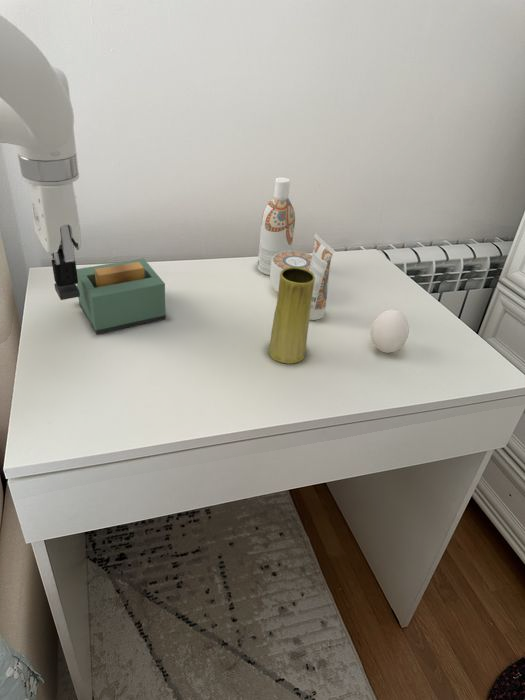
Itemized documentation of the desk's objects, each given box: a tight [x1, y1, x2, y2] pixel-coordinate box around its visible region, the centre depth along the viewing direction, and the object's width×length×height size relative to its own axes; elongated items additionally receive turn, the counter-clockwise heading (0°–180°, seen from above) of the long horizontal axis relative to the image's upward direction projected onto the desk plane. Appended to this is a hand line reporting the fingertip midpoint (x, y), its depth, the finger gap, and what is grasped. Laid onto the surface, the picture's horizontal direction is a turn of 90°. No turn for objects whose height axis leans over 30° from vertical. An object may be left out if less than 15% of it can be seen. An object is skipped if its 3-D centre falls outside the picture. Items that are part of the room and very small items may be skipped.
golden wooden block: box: [94, 262, 145, 288], centre depth 90 cm, size 8×2×8 cm, turn 120°
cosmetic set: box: [257, 176, 334, 321], centre depth 98 cm, size 25×9×19 cm, turn 22°
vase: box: [267, 267, 315, 365], centre depth 83 cm, size 6×6×14 cm
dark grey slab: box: [53, 282, 80, 301], centre depth 85 cm, size 3×4×1 cm
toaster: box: [76, 257, 167, 335], centre depth 91 cm, size 12×10×7 cm
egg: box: [370, 308, 410, 353], centre depth 88 cm, size 6×6×8 cm
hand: (66, 282), depth 85 cm, fingers closed
